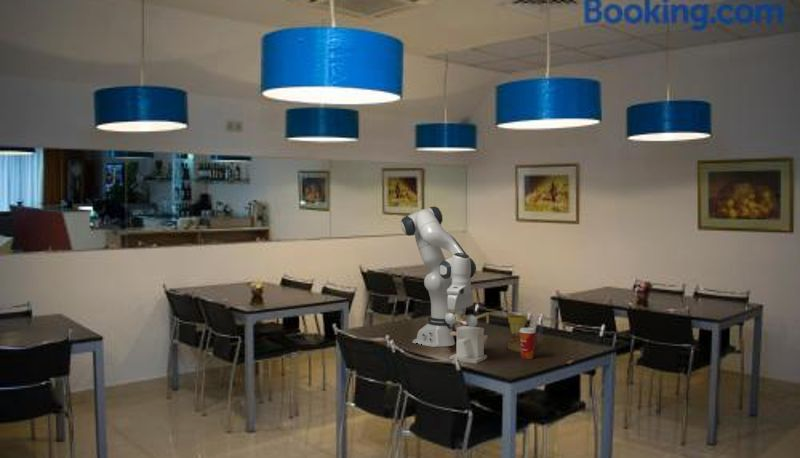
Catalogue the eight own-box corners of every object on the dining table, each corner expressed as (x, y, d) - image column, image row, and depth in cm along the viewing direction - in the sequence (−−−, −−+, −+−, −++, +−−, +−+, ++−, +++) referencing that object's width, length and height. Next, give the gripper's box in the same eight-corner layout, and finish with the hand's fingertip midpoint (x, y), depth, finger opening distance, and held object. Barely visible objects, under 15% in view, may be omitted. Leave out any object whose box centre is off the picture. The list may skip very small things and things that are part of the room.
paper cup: (517, 356, 321) (517, 327, 321) (532, 355, 322) (532, 327, 321) (521, 360, 314) (521, 330, 313) (537, 359, 314) (537, 330, 314)
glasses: (488, 323, 314) (488, 312, 314) (476, 327, 303) (476, 316, 303) (457, 319, 323) (457, 308, 323) (444, 323, 311) (444, 312, 311)
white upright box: (490, 358, 316) (491, 328, 315) (477, 365, 303) (478, 334, 303) (456, 354, 325) (457, 324, 324) (443, 360, 313) (443, 329, 312)
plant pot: (526, 332, 379) (526, 315, 378) (526, 335, 368) (526, 318, 368) (508, 331, 380) (508, 314, 380) (507, 335, 370) (508, 317, 370)
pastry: (522, 344, 347) (522, 329, 347) (540, 350, 334) (540, 334, 333) (501, 347, 341) (501, 331, 341) (518, 353, 328) (518, 337, 328)
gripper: (464, 285, 317) (464, 314, 318) (445, 290, 300) (444, 320, 301) (476, 286, 314) (476, 315, 315) (457, 291, 297) (457, 322, 297)
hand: (460, 318), depth 308 cm, fingers closed on glasses
